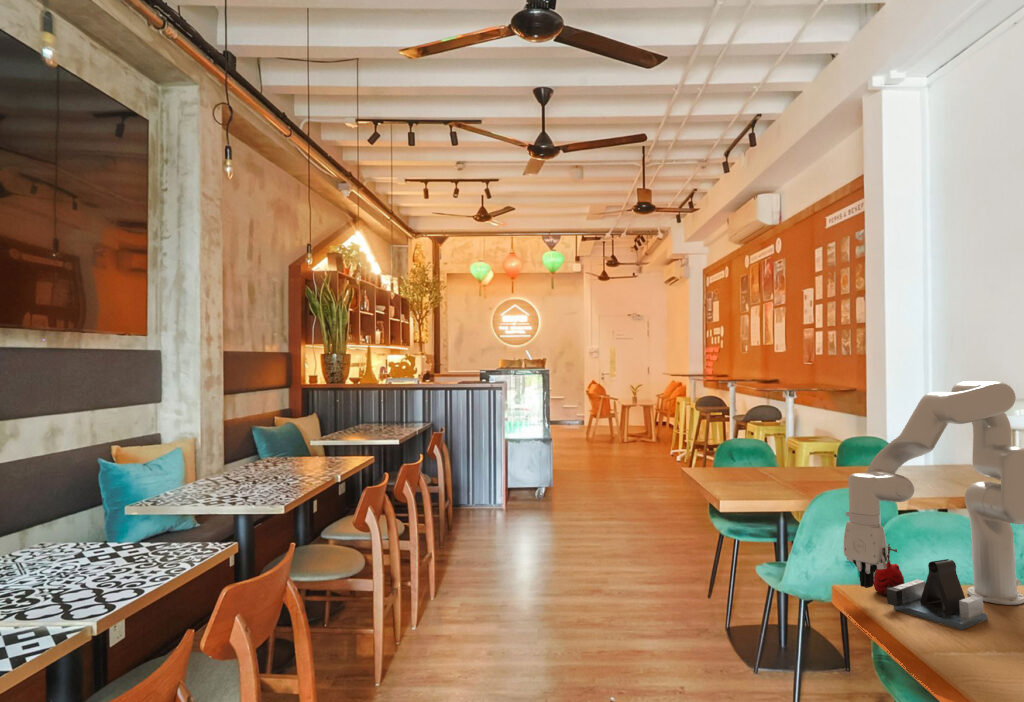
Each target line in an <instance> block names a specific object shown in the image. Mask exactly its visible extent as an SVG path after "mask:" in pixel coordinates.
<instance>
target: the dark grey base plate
mask: <svg viewBox="0 0 1024 702" xmlns="http://www.w3.org/2000/svg"><path fill="white" fill-rule="evenodd" d="M920 600H921V598H919V599H916V600H913V601H910V602H908V603H905V604H903V605H901V606H898V607H896V606H893V609H894V611H898V612H902V613H904V612H905V614H908V615H911V614H912V615H911V616H914V615H915V617H917V616H918V618H921V619H923V620H928V621H931V622H934V623H936V624H941V625H945V626H947V627H951V628H953V629H957V630H960V631H963V630H965V629H967V628H971V627H973V626H976V625H978V624H980V623H983V622H985V621H987V620H988V615H987V613H985V612H984V601H983V597H979V596H975V595H973V596H970V595H969V596H968V597H965V599H962V600H960V601H959V605H960V613H956V614H949V613H946V612H943V611H941V610H938V609H936V608H933V607H930V606H927V605H925V604H922V603H920Z"/></svg>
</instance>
